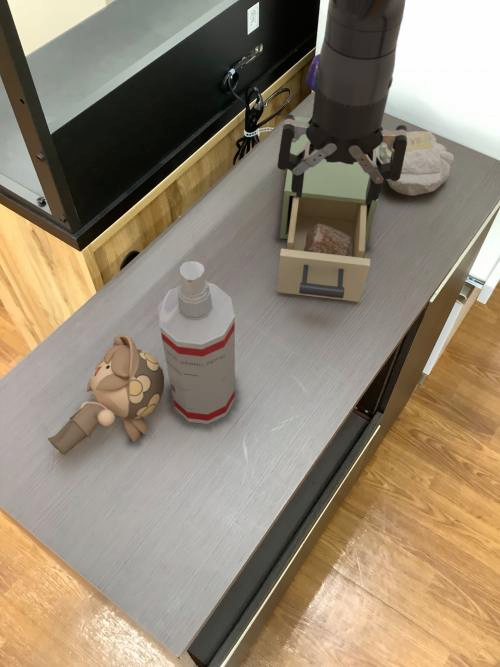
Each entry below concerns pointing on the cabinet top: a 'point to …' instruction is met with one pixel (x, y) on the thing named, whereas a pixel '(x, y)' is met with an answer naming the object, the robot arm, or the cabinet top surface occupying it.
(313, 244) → the stone
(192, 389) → the spray bottle
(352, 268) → the drawer
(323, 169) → the cabinet
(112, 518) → the cabinet top surface
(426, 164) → the fossil replica
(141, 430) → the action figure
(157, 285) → the cabinet top surface
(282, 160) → the robot arm
